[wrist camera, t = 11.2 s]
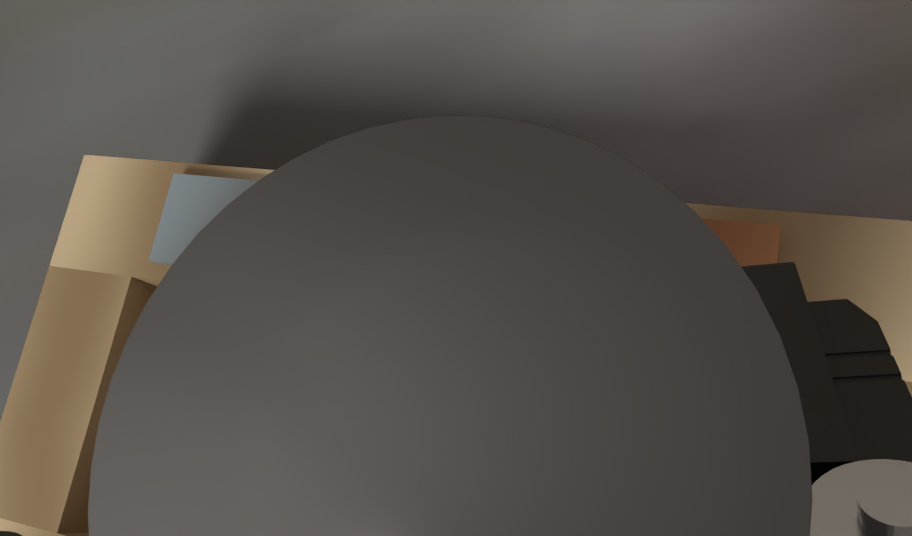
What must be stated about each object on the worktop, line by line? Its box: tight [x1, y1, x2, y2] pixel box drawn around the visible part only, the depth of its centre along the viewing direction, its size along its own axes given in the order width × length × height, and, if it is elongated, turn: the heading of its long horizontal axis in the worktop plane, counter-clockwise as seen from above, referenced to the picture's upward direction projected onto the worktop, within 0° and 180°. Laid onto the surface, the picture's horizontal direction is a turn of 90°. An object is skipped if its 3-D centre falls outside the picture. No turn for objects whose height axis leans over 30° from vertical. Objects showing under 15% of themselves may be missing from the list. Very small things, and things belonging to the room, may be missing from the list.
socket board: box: [0, 155, 912, 536], centre depth 19 cm, size 20×10×4 cm, turn 79°
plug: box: [88, 115, 813, 536], centre depth 9 cm, size 4×4×10 cm
